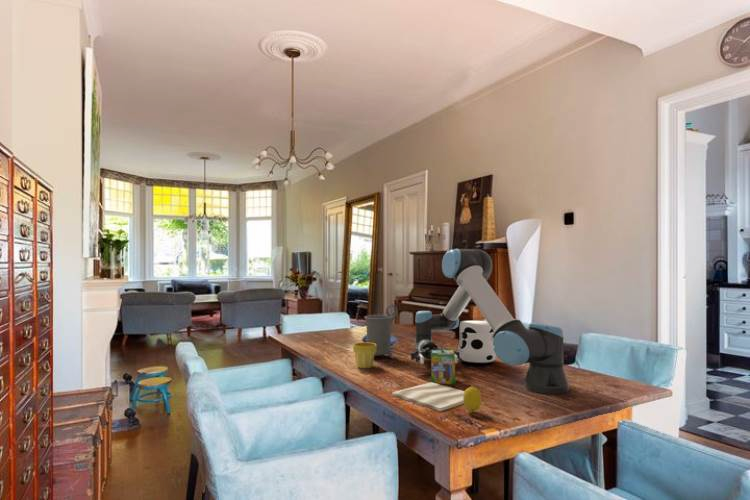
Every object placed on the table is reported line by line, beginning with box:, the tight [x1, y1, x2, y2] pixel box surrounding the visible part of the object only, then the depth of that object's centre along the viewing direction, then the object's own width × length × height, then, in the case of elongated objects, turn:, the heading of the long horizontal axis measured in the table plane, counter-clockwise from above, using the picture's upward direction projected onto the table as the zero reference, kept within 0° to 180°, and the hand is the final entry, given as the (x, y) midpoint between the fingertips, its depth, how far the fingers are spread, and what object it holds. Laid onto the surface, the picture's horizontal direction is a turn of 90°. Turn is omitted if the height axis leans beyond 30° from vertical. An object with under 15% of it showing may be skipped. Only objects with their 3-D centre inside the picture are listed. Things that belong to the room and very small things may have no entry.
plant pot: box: [352, 341, 377, 369], centre depth 201 cm, size 10×10×10 cm
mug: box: [363, 304, 398, 360], centre depth 221 cm, size 19×15×25 cm
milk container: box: [457, 320, 497, 365], centre depth 208 cm, size 17×17×18 cm
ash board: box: [391, 381, 465, 412], centre depth 157 cm, size 22×20×1 cm
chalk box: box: [430, 342, 457, 385], centre depth 176 cm, size 9×9×15 cm
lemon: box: [463, 385, 483, 413], centre depth 141 cm, size 6×6×8 cm
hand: (439, 360), depth 180 cm, fingers open, 13 cm apart
